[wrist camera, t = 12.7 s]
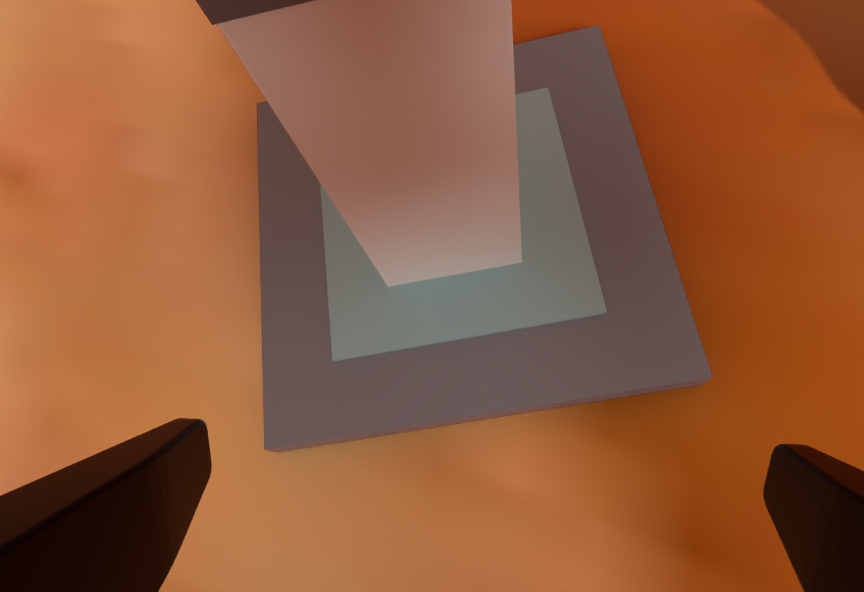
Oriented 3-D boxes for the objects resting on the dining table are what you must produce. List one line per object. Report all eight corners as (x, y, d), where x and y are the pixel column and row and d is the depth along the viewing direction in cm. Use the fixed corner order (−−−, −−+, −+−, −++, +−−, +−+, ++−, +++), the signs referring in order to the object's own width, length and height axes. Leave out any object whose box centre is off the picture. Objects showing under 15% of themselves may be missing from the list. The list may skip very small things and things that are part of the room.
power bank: (524, 263, 19) (509, -168, 7) (386, 288, 19) (147, -73, 7) (500, 147, 21) (455, -362, 9) (374, 172, 21) (165, -274, 9)
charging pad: (703, 384, 18) (713, 376, 17) (277, 452, 19) (262, 449, 18) (596, 44, 23) (599, 21, 22) (267, 118, 24) (255, 100, 23)
